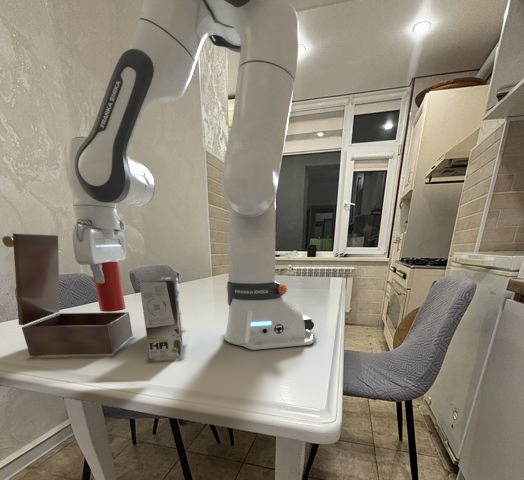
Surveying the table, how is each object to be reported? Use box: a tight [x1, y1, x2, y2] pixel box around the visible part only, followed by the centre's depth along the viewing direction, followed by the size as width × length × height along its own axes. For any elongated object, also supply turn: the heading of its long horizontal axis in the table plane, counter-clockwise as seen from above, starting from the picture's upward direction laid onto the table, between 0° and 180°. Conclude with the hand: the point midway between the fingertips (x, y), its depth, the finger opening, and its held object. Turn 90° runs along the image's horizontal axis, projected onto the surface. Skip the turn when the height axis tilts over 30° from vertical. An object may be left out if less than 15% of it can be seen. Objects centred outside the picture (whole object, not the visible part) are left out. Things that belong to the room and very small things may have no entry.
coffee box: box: [139, 275, 184, 360], centre depth 61 cm, size 9×6×16 cm
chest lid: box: [1, 232, 60, 326], centre depth 61 cm, size 17×13×5 cm
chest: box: [21, 311, 133, 356], centre depth 66 cm, size 17×13×7 cm
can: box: [92, 261, 126, 313], centre depth 73 cm, size 6×6×12 cm
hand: (108, 281), depth 73 cm, fingers closed on can, 6 cm apart
